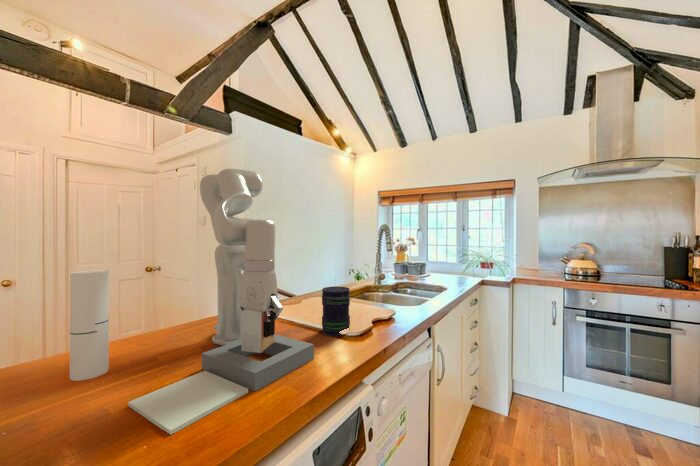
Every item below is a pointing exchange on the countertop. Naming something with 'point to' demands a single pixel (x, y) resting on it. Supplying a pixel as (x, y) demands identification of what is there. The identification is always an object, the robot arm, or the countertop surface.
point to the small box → (254, 332)
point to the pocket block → (257, 362)
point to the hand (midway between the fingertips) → (258, 332)
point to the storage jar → (335, 310)
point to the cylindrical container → (89, 324)
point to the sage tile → (187, 400)
